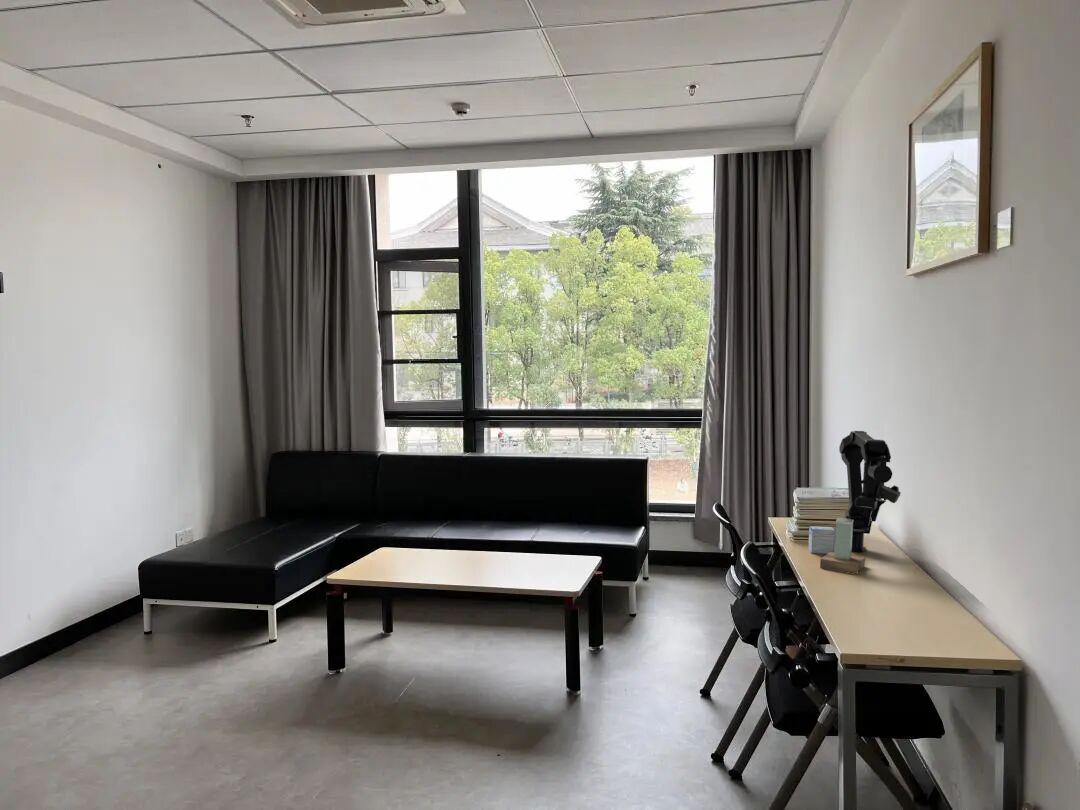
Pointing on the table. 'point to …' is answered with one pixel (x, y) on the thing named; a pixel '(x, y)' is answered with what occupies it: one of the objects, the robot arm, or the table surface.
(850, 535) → the tea tin
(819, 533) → the medicine box
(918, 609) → the table surface
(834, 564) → the plinth
